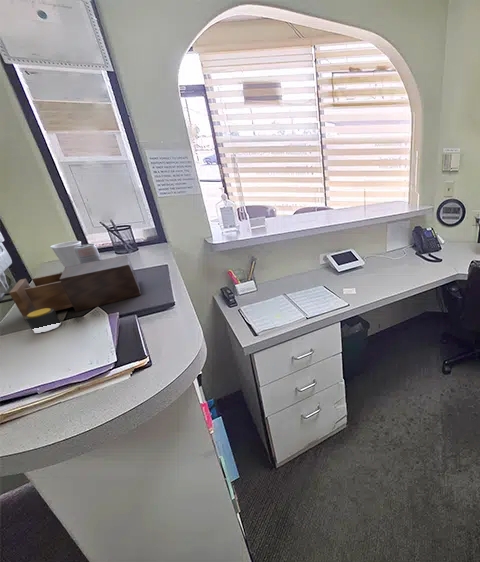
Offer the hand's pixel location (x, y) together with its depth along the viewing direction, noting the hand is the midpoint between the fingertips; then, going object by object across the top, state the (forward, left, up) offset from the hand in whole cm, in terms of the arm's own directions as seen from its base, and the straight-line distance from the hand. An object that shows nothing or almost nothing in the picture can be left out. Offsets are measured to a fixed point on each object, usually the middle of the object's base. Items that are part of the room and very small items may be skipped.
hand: (3, 291), depth 78 cm
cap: (+7, -13, -8) cm, 17 cm away
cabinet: (+19, 0, -8) cm, 21 cm away
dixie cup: (+9, +41, -8) cm, 43 cm away
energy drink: (+16, +20, -8) cm, 27 cm away
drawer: (+7, 0, -7) cm, 10 cm away
